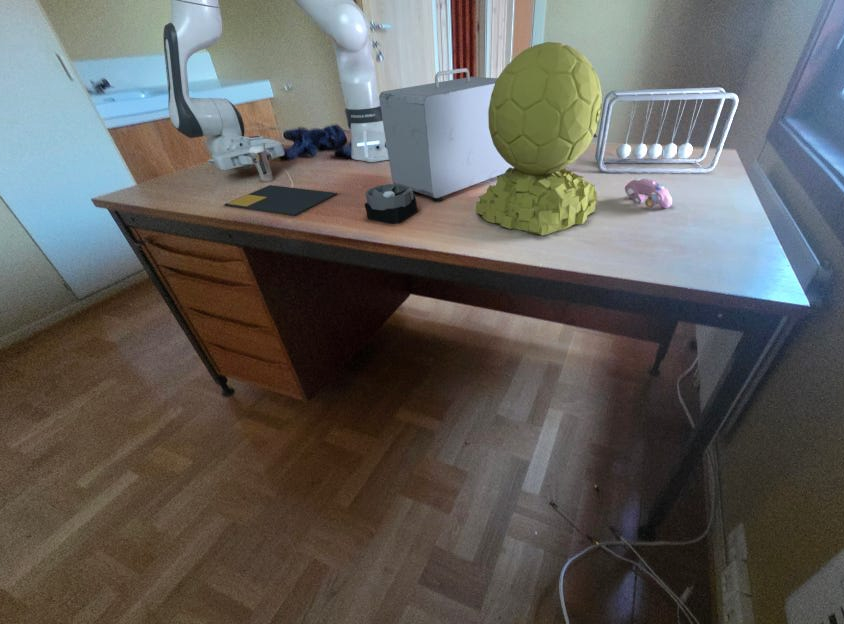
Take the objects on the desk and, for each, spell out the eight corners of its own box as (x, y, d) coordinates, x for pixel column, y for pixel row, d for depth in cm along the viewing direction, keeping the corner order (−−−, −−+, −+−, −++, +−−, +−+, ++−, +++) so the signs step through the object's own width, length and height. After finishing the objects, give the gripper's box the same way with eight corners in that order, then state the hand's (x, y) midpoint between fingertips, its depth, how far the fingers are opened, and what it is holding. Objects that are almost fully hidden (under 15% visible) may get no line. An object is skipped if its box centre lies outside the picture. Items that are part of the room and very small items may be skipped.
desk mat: (337, 194, 104) (336, 192, 103) (295, 216, 93) (294, 214, 93) (270, 186, 112) (269, 184, 111) (224, 205, 101) (224, 203, 101)
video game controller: (623, 207, 92) (620, 182, 86) (635, 194, 92) (634, 168, 87) (661, 219, 86) (660, 193, 80) (674, 205, 86) (675, 178, 81)
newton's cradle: (596, 173, 107) (609, 96, 96) (593, 162, 115) (605, 90, 103) (713, 173, 103) (742, 92, 91) (702, 162, 110) (728, 86, 99)
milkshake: (272, 182, 115) (259, 144, 108) (256, 182, 116) (242, 144, 109) (280, 178, 118) (268, 141, 111) (265, 177, 119) (252, 140, 112)
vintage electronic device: (472, 163, 120) (469, 62, 104) (517, 173, 110) (521, 63, 94) (389, 190, 104) (370, 76, 88) (433, 205, 94) (421, 79, 78)
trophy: (607, 211, 86) (642, 36, 66) (546, 244, 75) (566, 46, 55) (528, 191, 99) (538, 38, 79) (466, 216, 88) (459, 46, 68)
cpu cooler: (355, 194, 86) (384, 180, 92) (361, 219, 89) (388, 205, 96) (393, 200, 81) (420, 185, 88) (397, 226, 85) (423, 210, 92)
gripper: (200, 148, 111) (221, 154, 104) (266, 134, 123) (289, 139, 116) (210, 172, 116) (232, 179, 109) (273, 156, 127) (296, 162, 120)
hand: (262, 158), depth 112 cm, fingers closed on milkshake, 4 cm apart
